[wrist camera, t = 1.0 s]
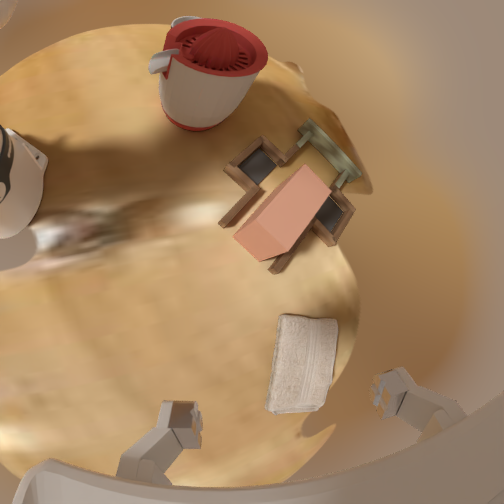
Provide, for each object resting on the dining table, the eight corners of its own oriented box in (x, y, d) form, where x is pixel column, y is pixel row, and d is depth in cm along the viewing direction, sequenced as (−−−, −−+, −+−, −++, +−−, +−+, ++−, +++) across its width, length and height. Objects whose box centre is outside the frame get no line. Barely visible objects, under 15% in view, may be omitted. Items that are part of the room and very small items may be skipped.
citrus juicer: (141, 85, 42) (152, 3, 24) (223, 80, 49) (258, 10, 31) (148, 147, 41) (159, 60, 23) (241, 137, 48) (292, 66, 29)
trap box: (192, 199, 42) (197, 190, 39) (287, 115, 53) (296, 105, 49) (295, 295, 46) (308, 294, 42) (361, 192, 57) (373, 186, 53)
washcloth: (261, 411, 41) (269, 418, 38) (275, 312, 45) (283, 312, 42) (317, 407, 45) (327, 412, 42) (330, 318, 49) (341, 318, 46)
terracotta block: (232, 236, 44) (255, 219, 35) (276, 187, 49) (305, 163, 39) (258, 261, 45) (288, 251, 36) (299, 210, 50) (331, 191, 40)
